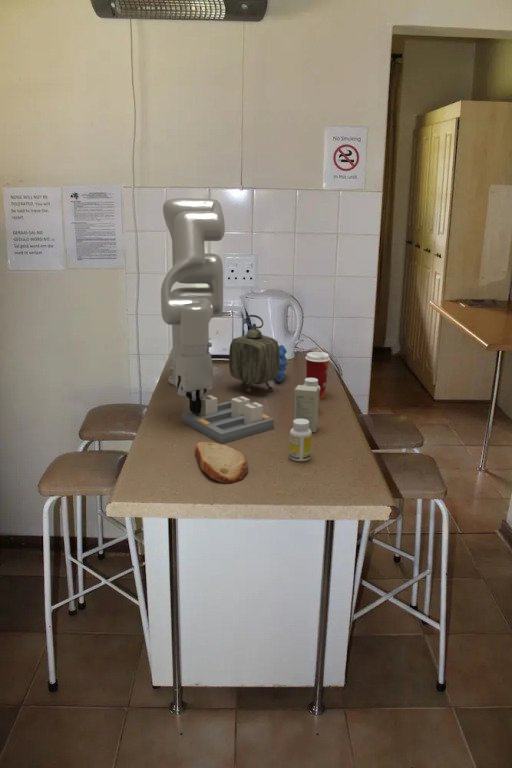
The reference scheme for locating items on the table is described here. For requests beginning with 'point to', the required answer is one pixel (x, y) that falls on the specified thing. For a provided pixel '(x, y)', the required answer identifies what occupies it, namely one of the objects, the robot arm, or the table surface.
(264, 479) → the table surface
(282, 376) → the grapes
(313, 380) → the supplement bottle
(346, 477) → the table surface
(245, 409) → the tab
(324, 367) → the paper cup
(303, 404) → the skincare box
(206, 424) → the switch bank
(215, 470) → the bread slice
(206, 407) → the beige switch slider block
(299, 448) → the supplement bottle
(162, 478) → the table surface
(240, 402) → the tab
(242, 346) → the tabletop clock
